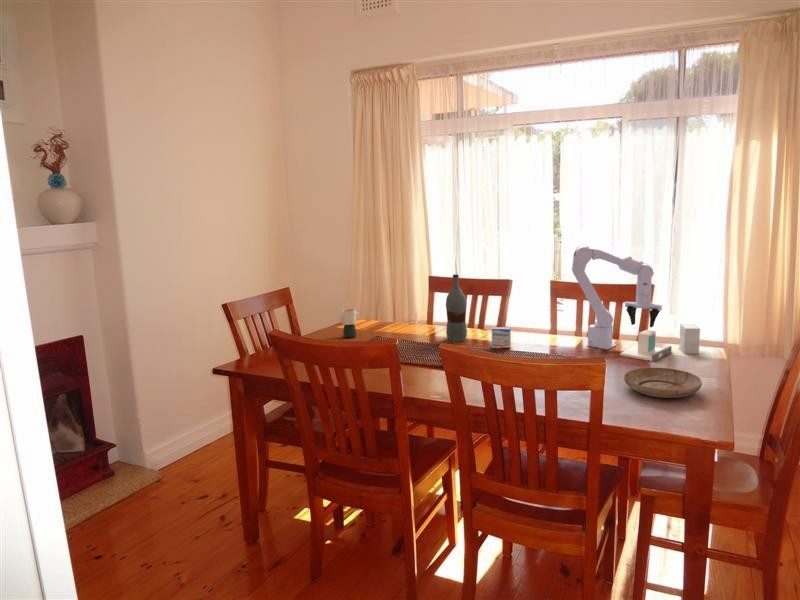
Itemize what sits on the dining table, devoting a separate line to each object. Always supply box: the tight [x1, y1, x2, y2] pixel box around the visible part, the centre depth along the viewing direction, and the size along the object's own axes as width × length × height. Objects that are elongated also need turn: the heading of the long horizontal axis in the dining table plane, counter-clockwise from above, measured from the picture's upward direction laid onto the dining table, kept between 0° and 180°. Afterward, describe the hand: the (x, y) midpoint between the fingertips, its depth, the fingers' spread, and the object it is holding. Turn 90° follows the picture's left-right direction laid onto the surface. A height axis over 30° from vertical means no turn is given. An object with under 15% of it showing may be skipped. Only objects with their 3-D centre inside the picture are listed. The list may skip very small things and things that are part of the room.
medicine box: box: [491, 326, 512, 346], centre depth 257 cm, size 8×4×9 cm, turn 76°
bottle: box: [445, 273, 468, 343], centre depth 270 cm, size 9×9×30 cm
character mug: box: [338, 308, 360, 338], centre depth 284 cm, size 11×7×13 cm, turn 127°
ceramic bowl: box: [623, 367, 703, 399], centre depth 198 cm, size 23×24×5 cm
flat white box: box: [620, 344, 672, 362], centre depth 241 cm, size 14×17×2 cm
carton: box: [637, 329, 657, 354], centre depth 240 cm, size 4×7×8 cm, turn 135°
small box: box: [678, 323, 701, 355], centre depth 242 cm, size 8×6×10 cm
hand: (642, 325), depth 249 cm, fingers open, 7 cm apart
